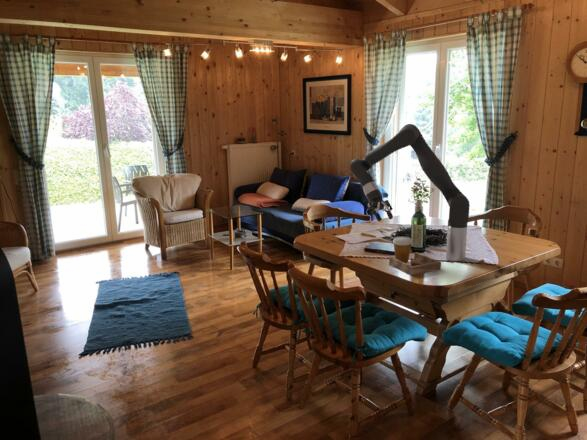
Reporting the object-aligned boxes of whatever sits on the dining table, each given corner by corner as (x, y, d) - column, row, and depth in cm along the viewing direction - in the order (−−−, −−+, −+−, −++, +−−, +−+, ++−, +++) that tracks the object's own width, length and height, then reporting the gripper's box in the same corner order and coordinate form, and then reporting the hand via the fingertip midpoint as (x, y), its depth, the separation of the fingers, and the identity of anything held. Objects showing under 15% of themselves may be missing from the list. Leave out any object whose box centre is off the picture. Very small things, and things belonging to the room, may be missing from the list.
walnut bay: (389, 264, 230) (389, 257, 229) (416, 259, 237) (416, 252, 236) (411, 275, 215) (412, 267, 214) (440, 269, 222) (441, 261, 221)
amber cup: (414, 260, 236) (415, 237, 233) (407, 266, 228) (408, 242, 225) (396, 257, 241) (397, 235, 238) (389, 262, 233) (389, 239, 230)
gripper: (367, 189, 234) (381, 217, 229) (386, 187, 243) (400, 214, 238) (358, 197, 240) (371, 225, 235) (377, 194, 248) (390, 221, 243)
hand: (386, 219), depth 236 cm, fingers open, 8 cm apart
